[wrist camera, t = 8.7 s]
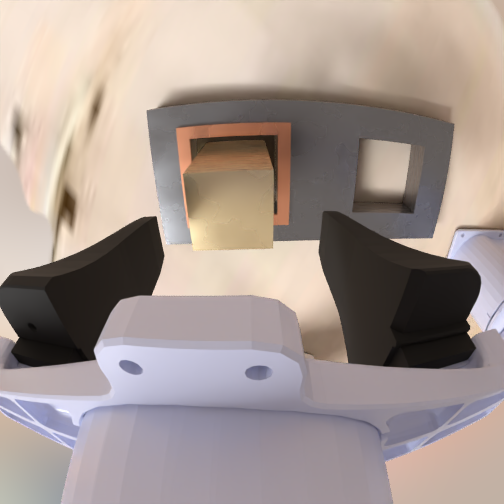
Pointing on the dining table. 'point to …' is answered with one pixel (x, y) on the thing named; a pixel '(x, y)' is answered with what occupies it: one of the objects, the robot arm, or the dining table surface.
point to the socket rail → (306, 162)
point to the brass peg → (230, 196)
